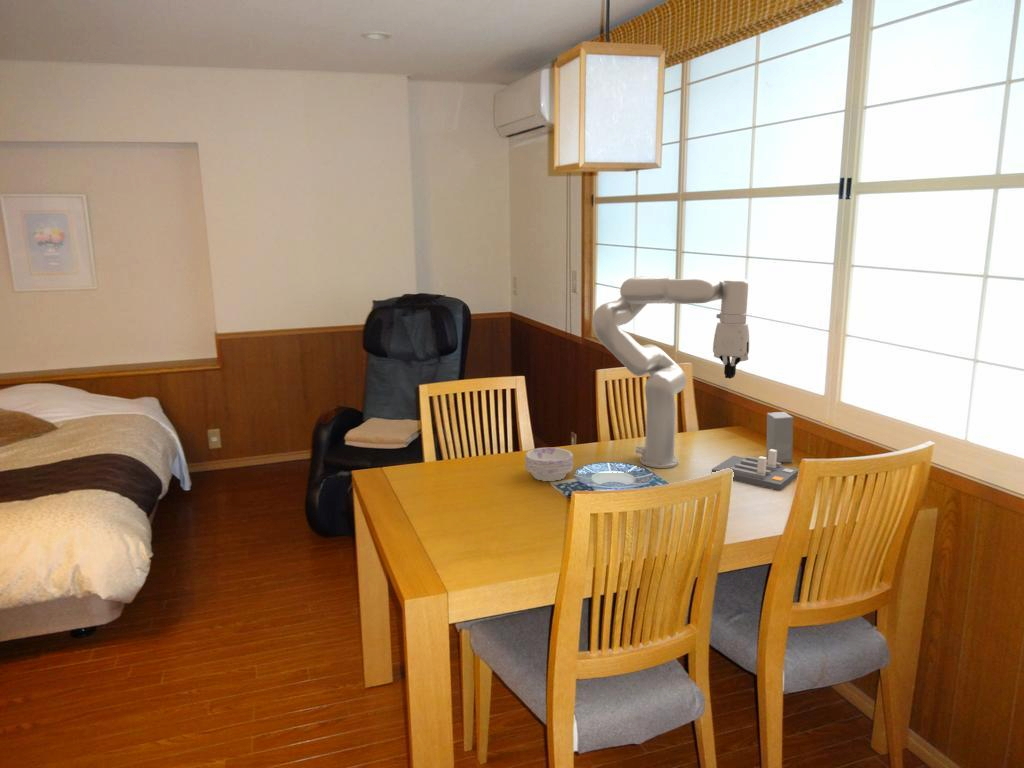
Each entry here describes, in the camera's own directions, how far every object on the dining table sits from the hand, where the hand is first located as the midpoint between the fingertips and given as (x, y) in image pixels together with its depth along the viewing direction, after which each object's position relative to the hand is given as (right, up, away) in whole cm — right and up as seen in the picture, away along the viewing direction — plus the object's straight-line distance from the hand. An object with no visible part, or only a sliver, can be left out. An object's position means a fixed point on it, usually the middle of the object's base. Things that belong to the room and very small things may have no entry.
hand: (729, 377), depth 230 cm
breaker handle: (+16, -29, +8) cm, 34 cm away
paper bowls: (-56, -32, +7) cm, 65 cm away
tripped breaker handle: (+10, -30, +1) cm, 32 cm away
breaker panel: (+10, -31, +7) cm, 34 cm away
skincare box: (+23, -28, +22) cm, 42 cm away
